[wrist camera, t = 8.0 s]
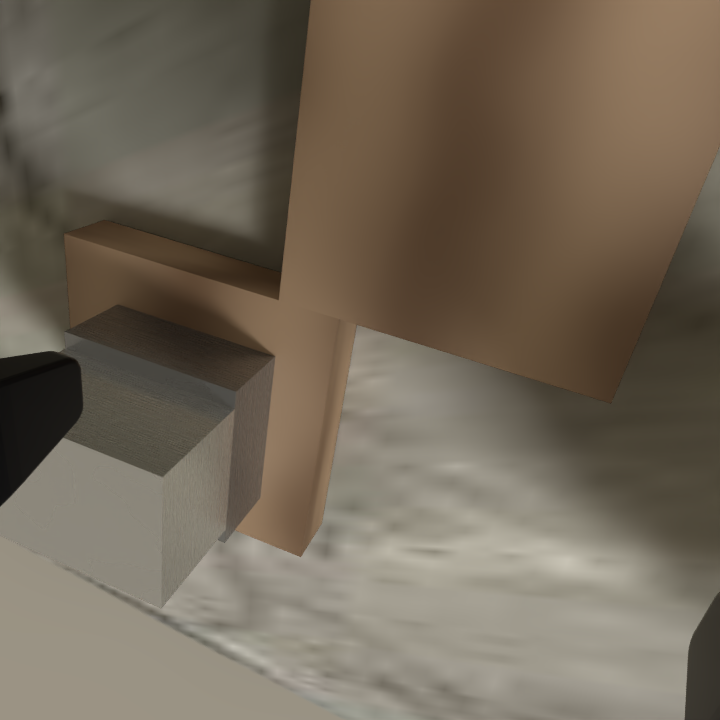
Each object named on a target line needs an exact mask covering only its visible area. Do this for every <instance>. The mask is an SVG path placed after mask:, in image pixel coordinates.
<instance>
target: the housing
mask: <svg viewBox="0 0 720 720" xmlns="http://www.w3.org/2000/svg"><path fill="white" fill-rule="evenodd" d="M64 333H65V346H66V349H64V350H62V351H61V352H59V353H61V354H64V355H67V356H70V357H72V358H74V359H76V360H77V361H78V363H79V364H80V367H81V375H82V389H83V403H84V405H83V411H82V414H81V416H80V418H79V420H78V421H77V423H76V424H75V425H74V426H73V427H72V428H71V429H70V431H69V432H68V433H67V434H66V435H65V436H64V437H63V439H62V440H61V441H60V442H59V443H58V444H57V445H56V446H55V448H54V449H53V450H52V451H51V452H50V453H49V454H48V456H47V457H46V458H45V459H44V460H43V461H42V462H41V464H40V465H39V466H38V467H37V468H36V469H35V470H34V472H33V473H32V474H31V475H30V476H29V477H28V478H27V479H26V481H25V482H24V483H23V484H22V485H21V486H20V487H19V488H18V489H17V491H16V492H15V493H14V494H13V495H12V496H11V497H10V498H9V499H8V500H7V501H6V502H5V503H4V504H3V505H2V506H1V507H0V536H2V537H4V538H6V539H8V540H11V541H13V542H15V543H17V544H19V545H22V546H24V547H26V548H28V549H31V550H33V551H35V552H37V553H39V554H42V555H44V556H46V557H48V558H50V559H53V560H55V561H57V562H59V563H62V564H64V565H66V566H68V567H70V568H73V569H75V570H77V571H79V572H81V573H84V574H86V575H88V576H90V577H93V578H95V579H97V580H99V581H101V582H104V583H106V584H108V585H110V586H112V587H115V588H117V589H119V590H121V591H123V592H126V593H128V594H130V595H132V596H135V597H137V598H139V599H141V600H143V601H146V602H148V603H150V604H152V605H154V606H157V607H159V608H162V607H163V606H164V605H165V604H166V602H167V601H168V600H169V599H170V597H171V596H172V595H173V594H174V592H175V591H176V590H177V589H178V588H179V586H180V585H181V584H182V583H183V581H184V580H185V579H186V578H187V576H188V575H189V574H190V573H191V572H192V570H193V569H194V568H195V567H196V565H197V564H198V563H199V562H200V560H201V559H202V558H203V557H204V556H205V554H206V553H207V552H208V551H209V549H210V548H211V547H212V546H213V545H214V543H215V542H216V541H217V540H219V541H222V542H224V543H225V542H226V540H227V539H228V538H229V537H230V535H231V534H232V533H233V532H234V530H235V529H236V528H237V527H238V525H239V524H240V523H241V522H242V520H243V519H244V518H245V517H246V515H247V514H248V513H249V512H250V510H251V509H252V508H253V506H254V505H255V504H256V503H257V501H258V500H259V499H260V496H261V486H262V477H263V468H264V458H265V449H266V440H267V430H268V421H269V412H270V402H271V393H272V384H273V374H274V365H275V356H273V355H270V354H267V353H264V352H261V351H258V350H255V349H252V348H249V347H246V346H243V345H240V344H237V343H234V342H231V341H228V340H225V339H222V338H219V337H216V336H213V335H210V334H207V333H204V332H200V331H197V330H194V329H191V328H188V327H185V326H182V325H179V324H176V323H173V322H170V321H167V320H164V319H161V318H158V317H155V316H152V315H149V314H146V313H143V312H140V311H137V310H134V309H131V308H128V307H125V306H122V305H119V304H117V305H115V306H113V307H111V308H110V309H108V310H106V311H104V312H102V313H100V314H98V315H96V316H94V317H92V318H90V319H88V320H86V321H84V322H82V323H80V324H79V325H77V326H75V327H73V328H71V329H69V330H67V331H65V332H64Z"/></svg>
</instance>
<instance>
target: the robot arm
mask: <svg viewBox="0 0 720 720" xmlns="http://www.w3.org/2000/svg"><path fill="white" fill-rule="evenodd" d="M83 405H84V403H83V389H82V375H81V367H80V364H79V363H78V361H77V360H76V359H74V358H72V357H70V356H67V355H64V354H61V353H58V352H54V351H47V352H40V353H33V354H27V355H20V356H14V357H7V358H0V507H1V506H2V505H3V504H4V503H5V502H6V501H7V500H8V499H9V498H10V497H11V496H12V495H13V494H14V493H15V492H16V491H17V489H18V488H19V487H20V486H21V485H22V484H23V483H24V482H25V481H26V479H27V478H28V477H29V476H30V475H31V474H32V473H33V472H34V470H35V469H36V468H37V467H38V466H39V465H40V464H41V462H42V461H43V460H44V459H45V458H46V457H47V456H48V454H49V453H50V452H51V451H52V450H53V449H54V448H55V446H56V445H57V444H58V443H59V442H60V441H61V440H62V439H63V437H64V436H65V435H66V434H67V433H68V432H69V431H70V429H71V428H72V427H73V426H74V425H75V424H76V423H77V421H78V420H79V418H80V416H81V414H82V411H83ZM685 720H720V592H719V593H718V594H717V595H716V597H715V598H714V600H713V602H712V603H711V605H710V607H709V608H708V610H707V612H706V613H705V615H704V617H703V618H702V620H701V622H700V623H699V625H698V627H697V628H696V630H695V632H694V634H693V636H692V638H691V642H690V645H689V651H688V667H687V686H686V705H685Z"/></svg>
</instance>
